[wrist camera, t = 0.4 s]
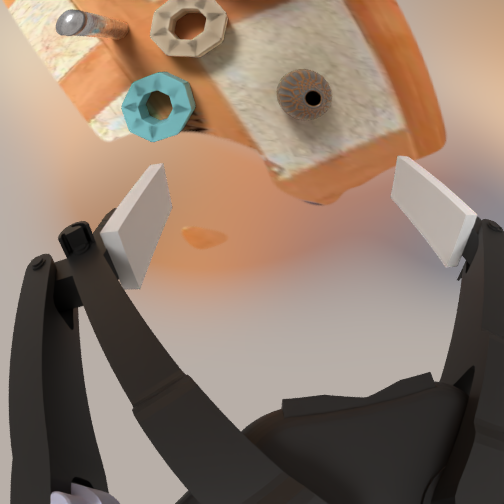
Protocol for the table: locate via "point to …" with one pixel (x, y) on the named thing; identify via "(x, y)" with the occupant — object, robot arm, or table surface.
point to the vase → (304, 94)
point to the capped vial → (90, 25)
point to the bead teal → (138, 111)
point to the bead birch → (212, 36)
